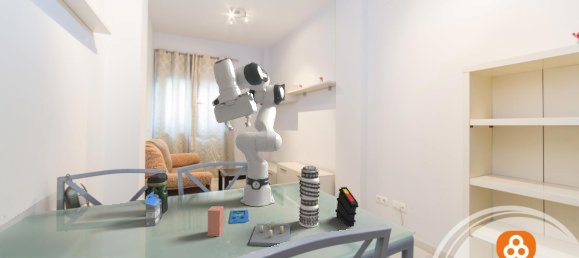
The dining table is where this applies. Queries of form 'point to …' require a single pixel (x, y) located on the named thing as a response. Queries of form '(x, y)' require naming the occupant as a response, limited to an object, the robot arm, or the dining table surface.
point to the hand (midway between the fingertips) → (239, 128)
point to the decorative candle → (309, 196)
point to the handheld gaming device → (238, 216)
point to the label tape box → (153, 210)
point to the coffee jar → (159, 188)
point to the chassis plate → (270, 234)
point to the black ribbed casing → (346, 206)
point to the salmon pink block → (215, 221)
